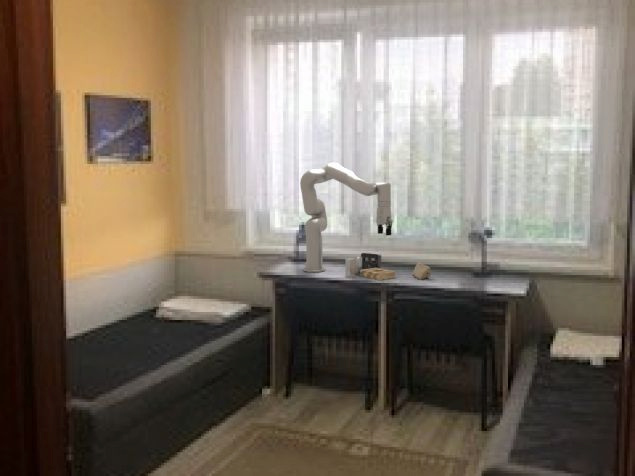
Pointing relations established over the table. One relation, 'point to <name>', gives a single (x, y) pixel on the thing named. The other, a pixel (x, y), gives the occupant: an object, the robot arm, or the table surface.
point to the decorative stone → (421, 271)
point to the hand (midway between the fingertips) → (384, 234)
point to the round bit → (358, 265)
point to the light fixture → (371, 260)
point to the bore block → (377, 273)
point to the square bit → (350, 267)
